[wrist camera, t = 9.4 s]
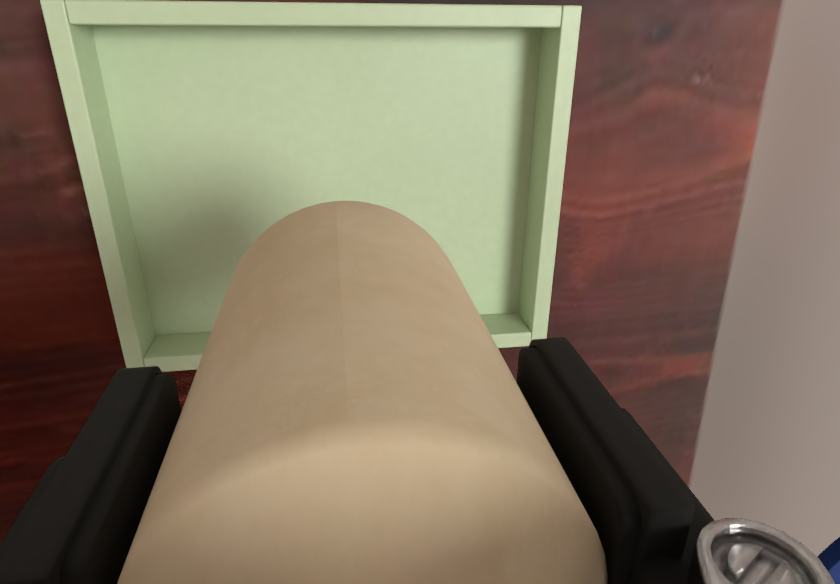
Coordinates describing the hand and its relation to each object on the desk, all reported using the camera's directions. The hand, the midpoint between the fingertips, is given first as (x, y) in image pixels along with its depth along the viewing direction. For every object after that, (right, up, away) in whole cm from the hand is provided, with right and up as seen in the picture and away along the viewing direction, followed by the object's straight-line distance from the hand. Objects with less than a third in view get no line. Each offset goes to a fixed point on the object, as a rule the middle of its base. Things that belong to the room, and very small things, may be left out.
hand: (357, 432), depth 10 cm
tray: (-2, +7, +14) cm, 16 cm away
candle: (-1, +2, +5) cm, 5 cm away
